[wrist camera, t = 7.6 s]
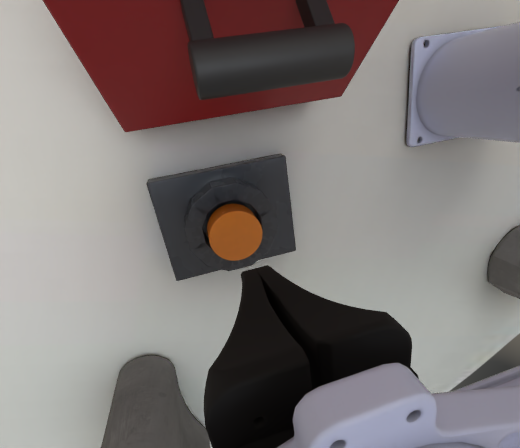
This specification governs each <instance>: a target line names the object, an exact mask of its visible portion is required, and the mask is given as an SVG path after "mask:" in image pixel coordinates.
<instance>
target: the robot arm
mask: <svg viewBox="0 0 520 448" xmlns="http://www.w3.org/2000/svg"><path fill="white" fill-rule="evenodd" d="M424 42H425V47H424V46H423V43H424ZM418 137H419V141H418V142H417V139H418ZM459 137H465V138H475V139H486V140H497V141H508V142H519V143H520V22H517V23H513V24H509V25H505V26H498V27H490V28H483V29H475V30H468V31H461V32H453V33H446V34H438V35H431V36H424V37H419V38H416V39H414V40H413V42H412V45H411V61H410V81H409V101H408V121H407V141H406V142H407V145H408V146H409V147H416V146H421V145H426V144H430V143H435V142H440V141H445V140H449V139H454V138H459ZM241 278H242V296H241V302H240V307H239V311H238V315H237V318H236V321H235V324H234V327H233V329H232V332H231V334H230V336H229V338H228V340H227V342H226V344H225V346H224V348H223V349H222V351H221V353H220V355H219V356H218V358H217V359H216V360H215V362H214V363H213V365H212V366H211V368H210V369H209V371H208V376H207V381H206V387H205V395H204V416H205V425H206V430H207V433H208V436H209V439H210V442H211V444H212V447H213V448H520V366H517V367H514V368H512V369H509V370H507V371H504V372H501V373H499V374H496V375H494V376H491V377H488V378H486V379H483V380H481V381H478V382H476V383H473V384H470V385H468V386H465V387H462V388H460V389H457V390H455V391H452V392H444V393H433V394H431V393H430V392H429V391H428V389H427V388H426V387H425V386H424V385H423V384H422V383H421V381H420V380H419V379H418V375H417V374H416V373H415V372H414V371H413V369H412V368H411V367H410V365H411V352H412V341H411V337H410V335H409V333H408V332H407V331H406V330H405V329H404V328H403V327H402V326H401V325H400V324H399V323H398V322H397V321H396V320H395V319H394V318H392V317H391V316H390V315H389V314H388V313H387V312H380V311H373V310H365V309H360V308H356V307H351V306H347V305H343V304H340V303H336V302H333V301H330V300H327V299H324V298H322V297H320V296H317V295H315V294H312V293H310V292H308V291H306V290H304V289H302V288H301V287H299V286H297V285H295V284H294V283H292V282H291V281H289V280H288V279H286V278H285V277H283V276H282V275H280V274H279V273H277V272H276V271H275V270H273V269H272V268H271V267H269V266H268V265H267V266H263V267H259V268H255V269H252V270H248V271H244V272H242V274H241Z"/></svg>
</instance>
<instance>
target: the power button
mask: <svg viewBox="0 0 520 448" xmlns="http://www.w3.org/2000/svg"><path fill="white" fill-rule="evenodd" d="M207 233H208V238H209V243H210V246H211V248H212V250H213V251H214V252H215V253H216V254H217V255H218V256H219V257H221V258H223V259H226V260H231V261H237V260H242V259H245V258H247V257H249V256H250V255H252V254H253V253H254V252H255V251H256V250H257V249H258V247H259V245H260V243H261V241H262V234H263V233H262V227H261V224H260V222H259V221H258V219H257V218H256V217H255V215H254V214H253V212H252V211H251V210H250V209H249V208H247V207H245V206H243V205H241V204H226V205H223V206H221V207H219V208H218V209H217V210H215V211H214V212H213V214H212V215H211V216H210V218H209V220H208V224H207Z"/></svg>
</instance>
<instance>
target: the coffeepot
mask: <svg viewBox="0 0 520 448" xmlns="http://www.w3.org/2000/svg"><path fill="white" fill-rule="evenodd" d="M488 277H489V282H490V283H491V284H493V285H494V286H495V287H497V288H498V289H500V290H501V291H503V292H504V293H507V294H509V295H512V296H514V297H517V298H519V299H520V226H518V227H516V228H515V229H513V230H512V231H511V232H509V233H508V234H507V235H506V236H505V237H504V238H503V239H502V240H501V241H500V243H499V244H498V245H497V247H496V248H495V250H494V252H493V254H492V256H491V258H490V261H489V265H488Z"/></svg>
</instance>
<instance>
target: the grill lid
mask: <svg viewBox="0 0 520 448" xmlns="http://www.w3.org/2000/svg"><path fill="white" fill-rule="evenodd" d="M398 1H399V0H43V2H44V3H45V5H46V6H47V8H48V10H49V11H50V13H51V15H52V16H53V18H54V19H55V21H56V23H57V24H58V26H59V27H60V29H61V31H62V32H63V34H64V35H65V37H66V39H67V40H68V42H69V43H70V45H71V47H72V48H73V50H74V51H75V53H76V55H77V56H78V58H79V59H80V61H81V63H82V64H83V66H84V67H85V69H86V71H87V72H88V74H89V75H90V77H91V79H92V80H93V82H94V83H95V85H96V87H97V88H98V90H99V92H100V93H101V95H102V96H103V98H104V100H105V101H106V103H107V104H108V106H109V108H110V109H111V111H112V112H113V114H114V116H115V117H116V119H117V120H118V122H119V124H120V125H121V127H122V128H123V130H124V131H125V132H130V131H136V130H142V129H148V128H154V127H160V126H166V125H172V124H178V123H184V122H190V121H196V120H202V119H208V118H214V117H220V116H226V115H232V114H238V113H244V112H250V111H256V110H262V109H268V108H274V107H280V106H286V105H292V104H298V103H304V102H310V101H316V100H322V99H328V98H334V97H340V96H342V94H343V93H344V91H345V89H346V88H347V86H348V84H349V83H350V81H351V79H352V78H353V76H354V74H355V73H356V71H357V69H358V68H359V66H360V64H361V63H362V61H363V59H364V58H365V56H366V54H367V53H368V51H369V49H370V48H371V46H372V44H373V43H374V41H375V39H376V38H377V36H378V34H379V33H380V31H381V29H382V28H383V26H384V24H385V23H386V21H387V19H388V18H389V16H390V14H391V13H392V11H393V9H394V8H395V6H396V4H397V3H398Z"/></svg>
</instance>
